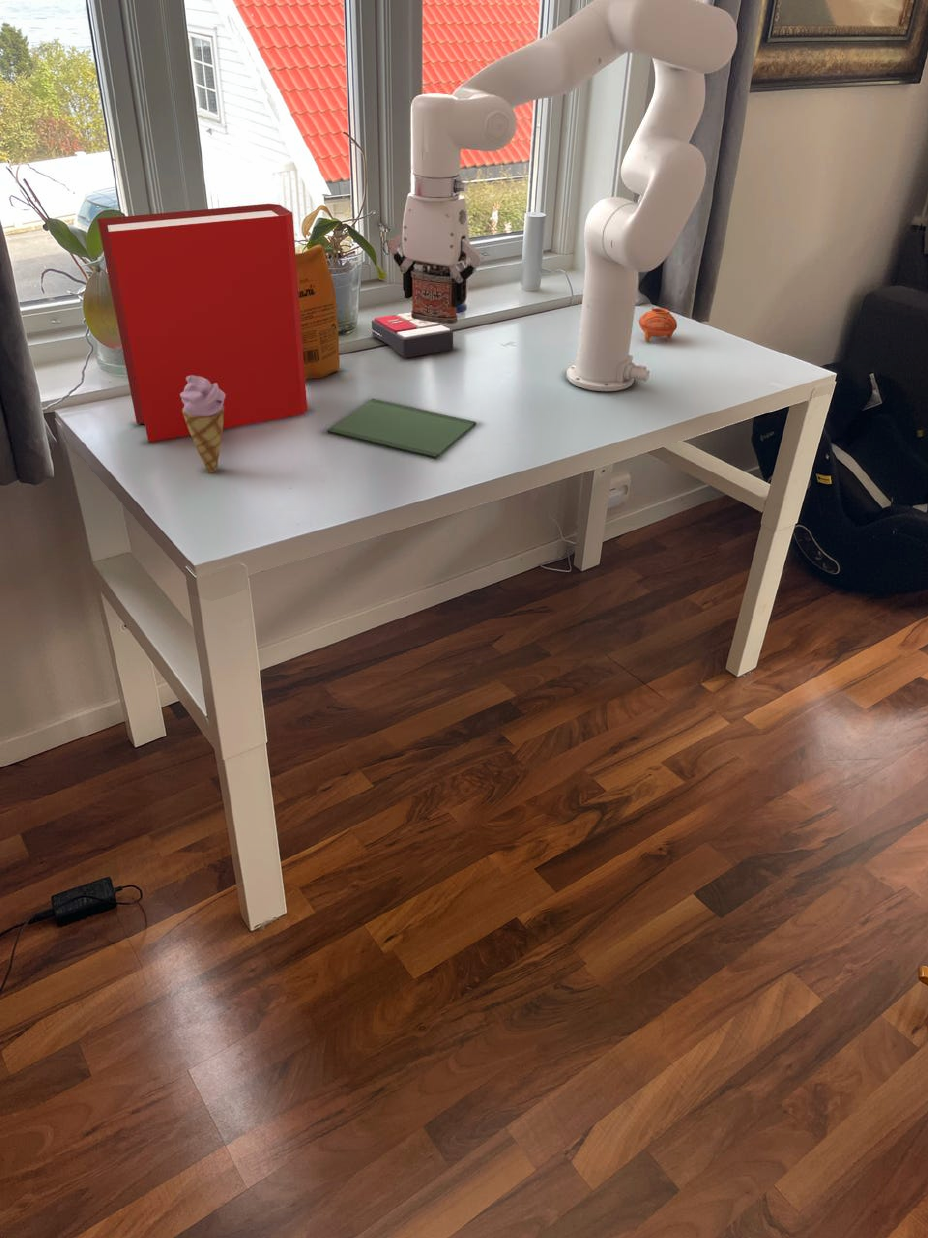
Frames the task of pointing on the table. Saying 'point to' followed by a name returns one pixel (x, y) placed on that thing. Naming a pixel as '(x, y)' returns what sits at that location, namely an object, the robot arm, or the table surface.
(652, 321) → the pot
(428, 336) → the card game box
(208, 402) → the ice cream cone
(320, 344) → the coffee package
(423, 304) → the lighter
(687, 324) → the table surface
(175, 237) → the book
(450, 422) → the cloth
